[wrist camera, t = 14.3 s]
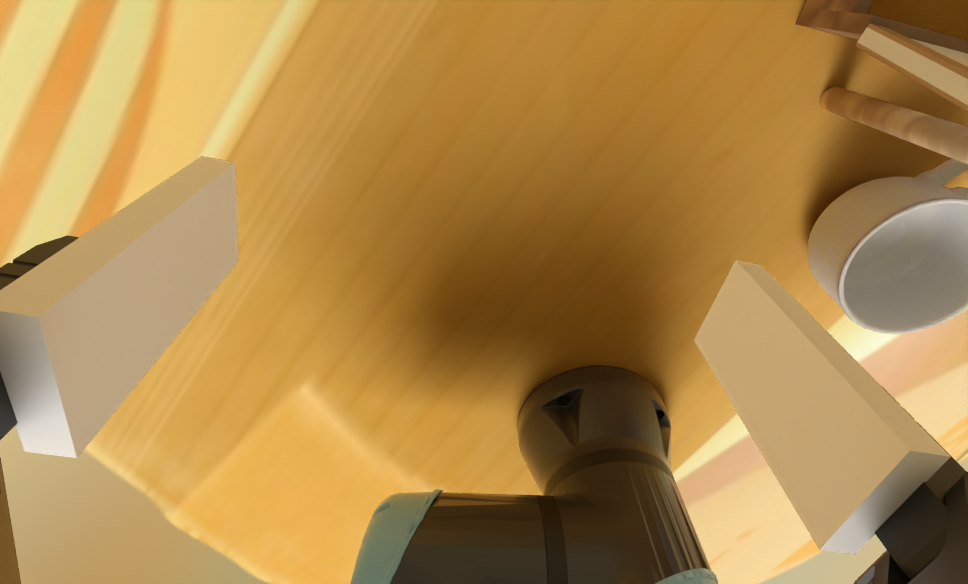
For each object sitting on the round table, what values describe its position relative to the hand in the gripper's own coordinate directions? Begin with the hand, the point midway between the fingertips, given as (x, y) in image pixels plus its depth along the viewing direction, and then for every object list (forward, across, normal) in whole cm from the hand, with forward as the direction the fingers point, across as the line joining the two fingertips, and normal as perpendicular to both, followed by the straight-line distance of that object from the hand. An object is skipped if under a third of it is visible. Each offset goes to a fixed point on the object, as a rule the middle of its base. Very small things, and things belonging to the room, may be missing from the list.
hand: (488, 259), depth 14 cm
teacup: (+27, -33, +3) cm, 43 cm away
